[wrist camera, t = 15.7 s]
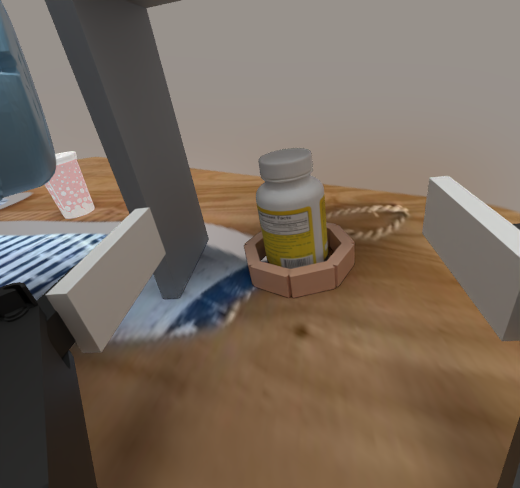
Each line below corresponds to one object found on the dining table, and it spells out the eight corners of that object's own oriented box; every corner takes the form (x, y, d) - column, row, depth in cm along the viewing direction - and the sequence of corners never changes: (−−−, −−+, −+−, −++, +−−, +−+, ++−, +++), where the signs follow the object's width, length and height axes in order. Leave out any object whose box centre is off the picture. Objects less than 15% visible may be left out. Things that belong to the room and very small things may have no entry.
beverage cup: (107, 203, 52) (69, 114, 45) (81, 220, 47) (33, 122, 40) (78, 205, 53) (37, 119, 46) (49, 221, 48) (-1, 128, 41)
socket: (229, 278, 27) (224, 259, 26) (282, 232, 33) (280, 215, 32) (322, 309, 22) (320, 287, 21) (366, 248, 28) (366, 228, 27)
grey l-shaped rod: (420, 284, 23) (479, -169, 12) (163, 298, 26) (26, -46, 15) (386, 223, 31) (403, -73, 21) (195, 240, 35) (123, -8, 24)
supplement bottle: (298, 242, 31) (288, 143, 26) (341, 261, 27) (338, 148, 22) (256, 266, 28) (235, 160, 24) (296, 291, 24) (281, 170, 20)
